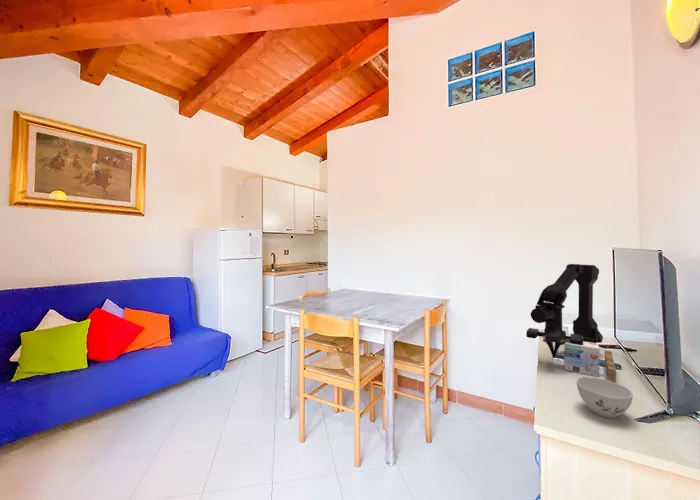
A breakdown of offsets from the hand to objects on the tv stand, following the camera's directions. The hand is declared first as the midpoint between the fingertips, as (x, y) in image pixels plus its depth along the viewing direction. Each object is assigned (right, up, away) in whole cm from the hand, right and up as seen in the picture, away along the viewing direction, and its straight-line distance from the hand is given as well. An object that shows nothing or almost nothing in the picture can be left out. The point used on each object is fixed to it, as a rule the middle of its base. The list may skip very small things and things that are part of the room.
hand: (554, 356), depth 118 cm
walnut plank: (+13, -3, -11) cm, 17 cm away
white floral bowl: (-8, -4, -32) cm, 33 cm away
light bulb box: (+6, -3, -6) cm, 9 cm away
